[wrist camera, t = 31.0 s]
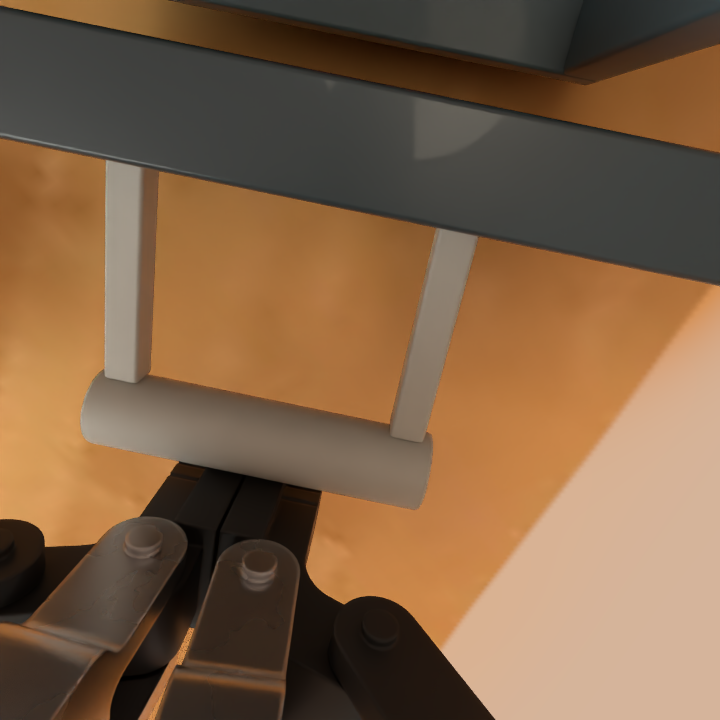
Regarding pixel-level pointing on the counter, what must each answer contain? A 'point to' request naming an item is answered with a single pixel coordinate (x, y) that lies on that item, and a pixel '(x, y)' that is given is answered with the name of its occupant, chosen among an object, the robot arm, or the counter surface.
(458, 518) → the counter surface
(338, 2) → the drawer
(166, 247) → the counter surface
